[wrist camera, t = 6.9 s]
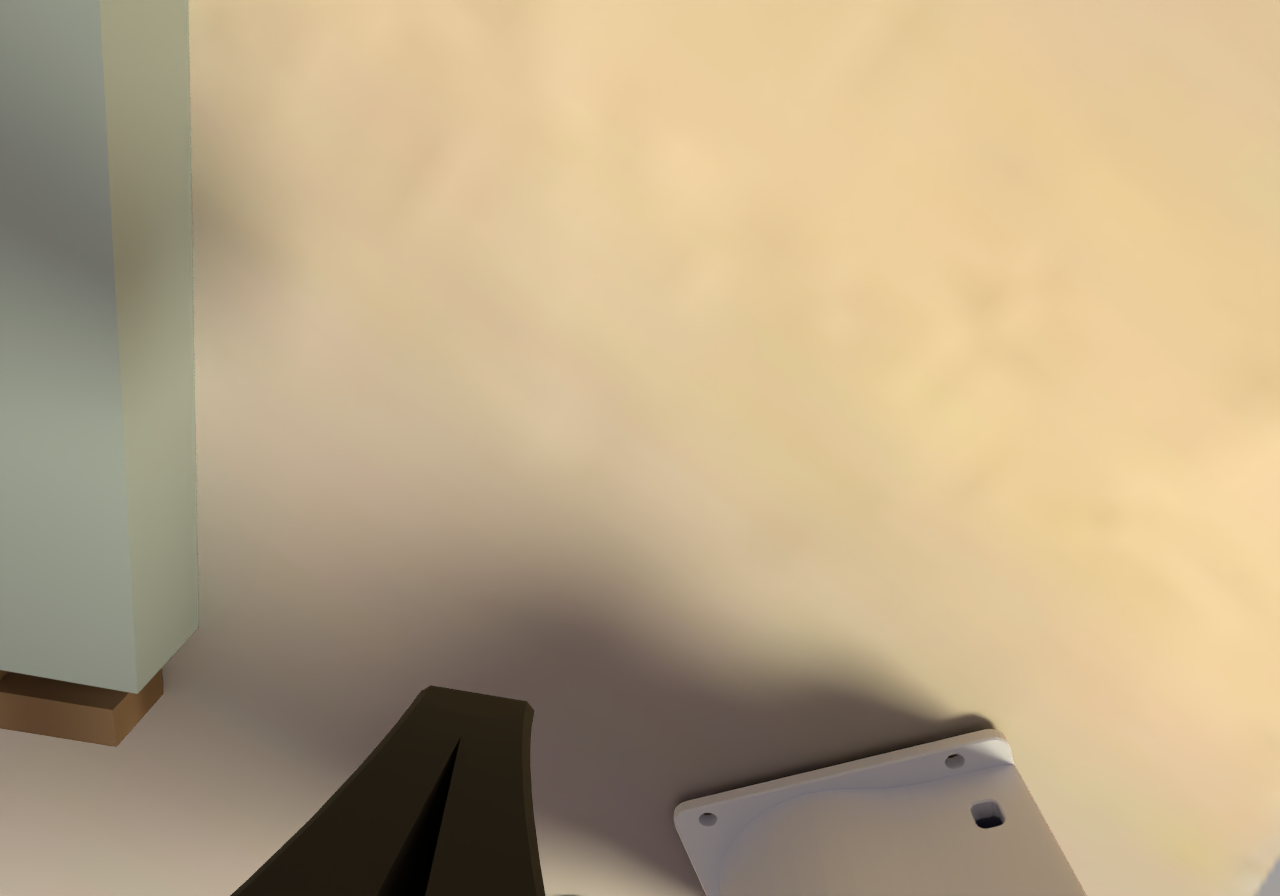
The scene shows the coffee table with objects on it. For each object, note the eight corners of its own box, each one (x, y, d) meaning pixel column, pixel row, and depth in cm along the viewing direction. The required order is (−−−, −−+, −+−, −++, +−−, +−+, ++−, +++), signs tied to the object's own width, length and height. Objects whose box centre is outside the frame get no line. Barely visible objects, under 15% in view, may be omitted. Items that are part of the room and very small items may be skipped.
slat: (198, -57, 15) (93, -99, 12) (206, 619, 21) (137, 693, 18) (-15, -106, 15) (-170, -161, 12) (55, 592, 21) (-37, 663, 18)
